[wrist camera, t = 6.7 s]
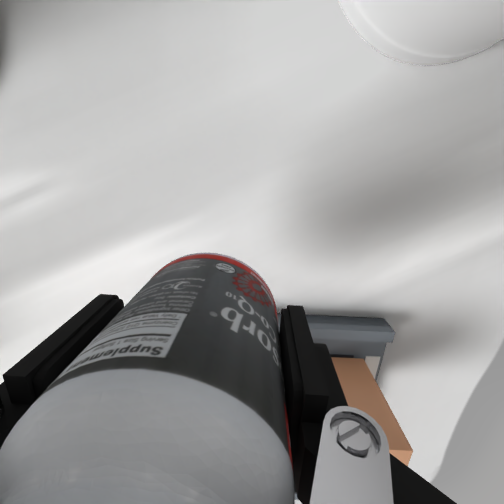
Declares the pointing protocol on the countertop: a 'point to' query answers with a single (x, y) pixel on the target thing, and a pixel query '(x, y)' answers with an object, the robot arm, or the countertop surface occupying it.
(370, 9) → the jar
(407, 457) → the tab
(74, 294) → the countertop surface
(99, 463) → the pill bottle
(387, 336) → the grey tray
